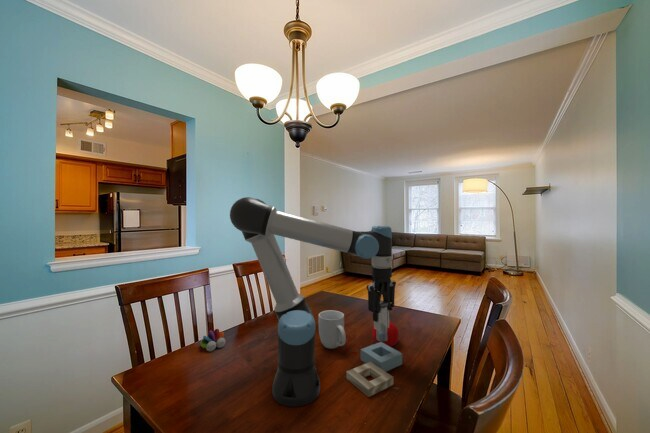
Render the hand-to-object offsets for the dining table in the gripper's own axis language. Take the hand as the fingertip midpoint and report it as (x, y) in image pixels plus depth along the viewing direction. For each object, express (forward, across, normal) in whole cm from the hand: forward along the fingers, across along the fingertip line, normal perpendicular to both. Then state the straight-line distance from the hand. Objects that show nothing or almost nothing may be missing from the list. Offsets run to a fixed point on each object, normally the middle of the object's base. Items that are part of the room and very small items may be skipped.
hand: (381, 327), depth 101 cm
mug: (+13, -9, +20) cm, 26 cm away
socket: (+13, 0, 0) cm, 13 cm away
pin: (+4, 0, 0) cm, 4 cm away
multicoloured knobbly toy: (+13, -51, +47) cm, 71 cm away
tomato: (+13, +11, +9) cm, 20 cm away
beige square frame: (+13, -12, -6) cm, 19 cm away
